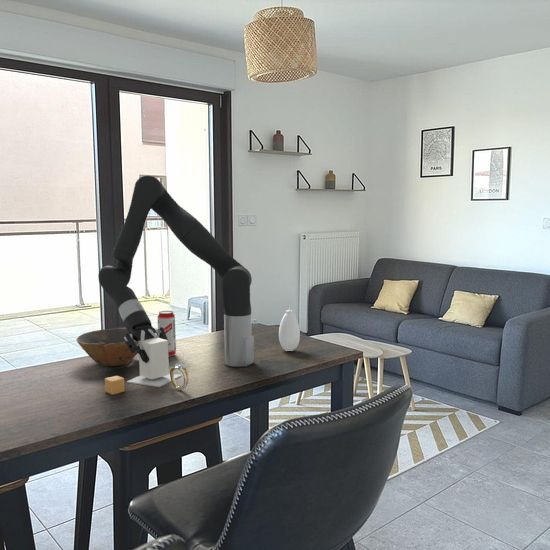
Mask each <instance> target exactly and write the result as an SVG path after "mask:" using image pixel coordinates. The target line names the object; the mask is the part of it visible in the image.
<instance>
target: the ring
mask: <svg viewBox="0 0 550 550" xmlns="http://www.w3.org/2000/svg"><path fill="white" fill-rule="evenodd" d="M176 370H179V371H180V372H181V375H182V377H183V384H182V386H179V385H178V384H177V382H176V379H175V378H174V374H176V373H175V372H176ZM169 373H170V378H171V383H172V385H173V387H174V388H175V389H176V390H177V391H183V390H185V389H186V388H187V386H188V384H189V372H188V370H187V369H186V367H185V365H184V364H183V363H182V362H179V363H175V366H174V365H173V367H172V368H171V369H169Z"/></svg>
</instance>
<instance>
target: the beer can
mask: <svg viewBox="0 0 550 550" xmlns="http://www.w3.org/2000/svg"><path fill="white" fill-rule="evenodd" d="M160 327H162V328H163V329H164V331H165V334H166V336H167V339H168V358H170V357H174V356H175V355H176V353H177V344H176V316H175V314H174V310H161V311H159V312H158V315H157V329H160Z"/></svg>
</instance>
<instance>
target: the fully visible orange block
mask: <svg viewBox="0 0 550 550" xmlns="http://www.w3.org/2000/svg"><path fill="white" fill-rule="evenodd" d="M125 387H126V386H125V378H124V377H122V376H119V375H114V376H110V377H105V378H104V391H105V393H107V394H109V395H112V396H113V395H117V394H120V393H123V392H125V390H126V389H125Z"/></svg>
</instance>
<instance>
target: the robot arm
mask: <svg viewBox="0 0 550 550" xmlns="http://www.w3.org/2000/svg"><path fill="white" fill-rule="evenodd" d="M131 197H132V198H131V202H130V205H129V209H128V211H127V215H126V217H125V220H124V223H123V226H122V228H121V231H120V233H119V236H118V238H117V240H116V242H115V246H114V247H113V250H112V253H111V255H112V256H111V257H112V258H113V259H115V260H116V267H115V266H113V265H104V266H103V267H101V268H100V270H99V271H98V282H99V284H100V287H101V288H102V289H103V290H104V291H105V292H106V294H107V295H108V296H109V297H110V298H111V300H112V301H113V302H114V304H115V307H116V309H117V310H118V312H119V315H120V317H121V320H122V322H123V323H124V325H125V328H127V329H128V331H129V333H130V334H126V335H125V337H124V338H123V340H124V342H125V343H126V345H127V346H128V348H129V349H130V351H131V352H132V353H138V354H137V355H138V356H139V355H140V357H141V359H142V361H143V362H145V363H148V361H149V357H148V355H147V353H146V351H145V350H143V349H144V347H143V345H142V341H144V340H147V339H152V338H161V339H165V340H168V339H167V336H166V334H165V331H164V329H163V328H162V327H160V329H158V328H155V327H154V326H152V321H151V319H150V317H149V315H148V313H147V312H146V310H145V308H144V307H143V305H142V304H141V302H140V300H139V299H138V297H137V295H136V294H135V292H134V290H133V289H132V288H130V287H129V286H128V285H129V283H130V280H131V278H132V277H131V276H132V271H133V261H134V258H135V255H136V253H137V251H138V248H139V246H140V243H141V239H142V235H143V231H144V227H145V224H146V220H147V218H148V216H149V213H150V211H151V210H152V211H153V212H154V213H155V214H157V215H158V216H159V217H160V218H161V219H162V220H163V221H164V223H165V224H166V225H167V227H168V228H169V230H170V231H171V232H172V233H173V235H175V237H176V238H177V239H178V241H179V242H180V243H181V244H182V245H183V246H184V247H185V248H186V249H188V251H189V252H190V253H192V254H193V255H194V256H195V257H197V258H199V260H201V261H203V262H205V263H206V264H207V265H209V266H210V267H211V268H212V269H213V270H214V271H215V272H216V273H217V274H218V275H219V276H220V278H221V279H222V281H221V289H222V306H223V307H222V308H223V321H224V323H223V328H224V329H223V331H224V335H223V336H224V338H223V339H224V364H225V366H228V367H237V368H239V367H245V368H246V367H249V366H250V365H251V364H253V363H255V338H254V337H255V335H252V307H251V306H252V305H251V284H252V282H253V281H252V279H253V278H252V274H251V273H250V271H249V269H248V268H246V267H245V266H244V265H242V264H241V263H240V262H238V261H237V260H236V259H235V257H233V256H231V254H230V253H229V252H227V251H226V249H224V247H223V246H222V244H220V243H219V242H218V240H217V239H216V237H215V236H213V234H212V233H211V232H210V231H209V230H208V229H207V228H206V227H205V226H204V225H203V224H202V222H200V221H199V220H198V219H197V218H195V217H194V215H192V214H191V213H190V212H188V211H187V210H186V209H185V208H184V207H181V205H180V204H178V202H177V201H175V199H174V198H173V197H172V196H171V194H170V193H169V192H168V190H167V189H166V188H165V186H164V185H163V183H162V182H161V181H160V180H159V179H158V178H157V177H155V176H154V175H151V174H146V175H142V176H140V177H139V178H138V179H137V180H136V182H135V184H134V187H133V192H132V196H131ZM133 339H134V340H136V341H137V345H136V344H135V342H134V341H133ZM139 341H140V342H139Z"/></svg>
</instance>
